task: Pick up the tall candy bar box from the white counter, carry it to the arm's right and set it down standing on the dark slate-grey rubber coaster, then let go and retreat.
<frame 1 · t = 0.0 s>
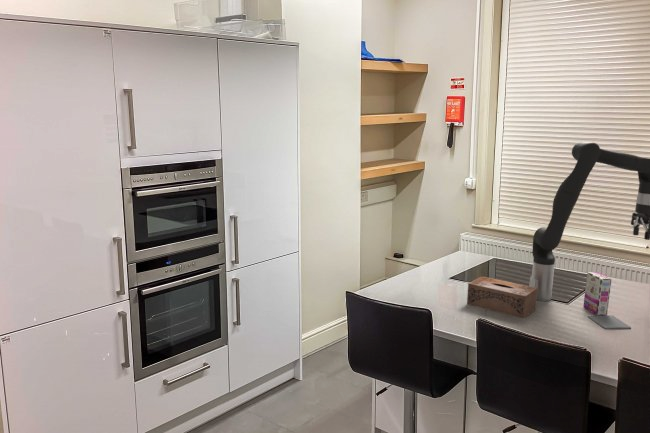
hand: (641, 237, 255), 29 cm above the table, tool pointing down, fingers open, 8 cm apart
coaster: (608, 322, 229), on the table
tissue box cover: (500, 307, 246), on the table
candy bar box: (595, 311, 243), on the table
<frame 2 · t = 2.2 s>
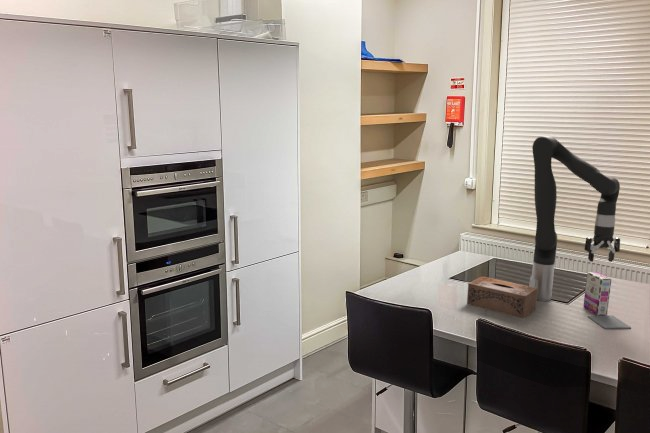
hand: (600, 261, 238), 23 cm above the table, tool pointing down, fingers open, 8 cm apart
nothing on the table moved.
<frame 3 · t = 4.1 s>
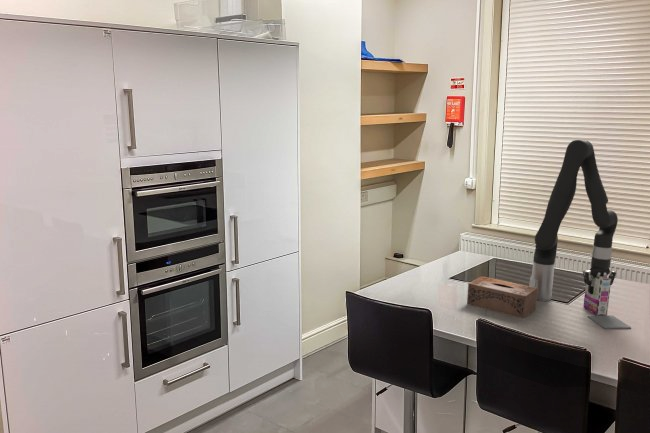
hand: (597, 293, 241), 8 cm above the table, tool pointing down, fingers closed on candy bar box, 5 cm apart
candy bar box: (595, 311, 243), on the table, touching gripper
everything else where it was.
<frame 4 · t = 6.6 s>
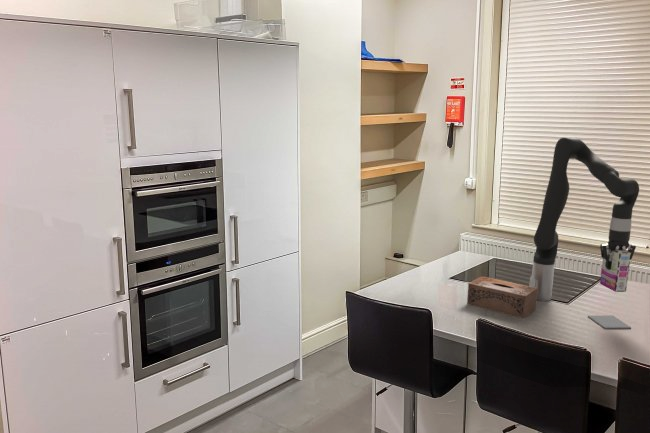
hand: (615, 269, 225), 23 cm above the table, tool pointing down, fingers closed on candy bar box, 5 cm apart
candy bar box: (612, 288, 227), point 15 cm above the table, touching gripper
everything else where it was.
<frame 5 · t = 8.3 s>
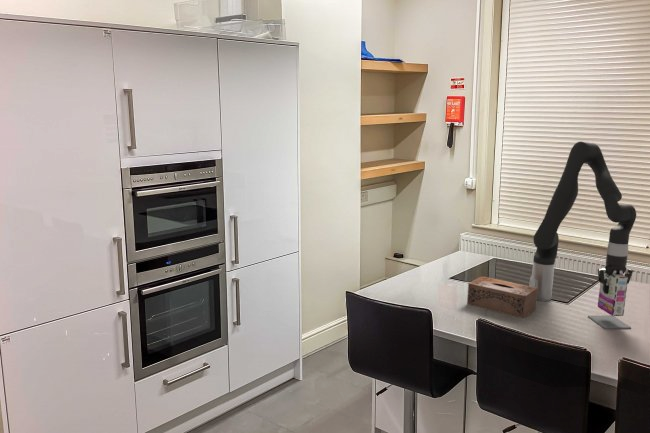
hand: (612, 293, 227), 13 cm above the table, tool pointing down, fingers closed on candy bar box, 5 cm apart
candy bar box: (610, 311, 229), point 5 cm above the table, touching gripper
everything else where it was.
when the fingers open (10 cm above the table, at t = 9.5 s): candy bar box drops 1 cm, resting on coaster.
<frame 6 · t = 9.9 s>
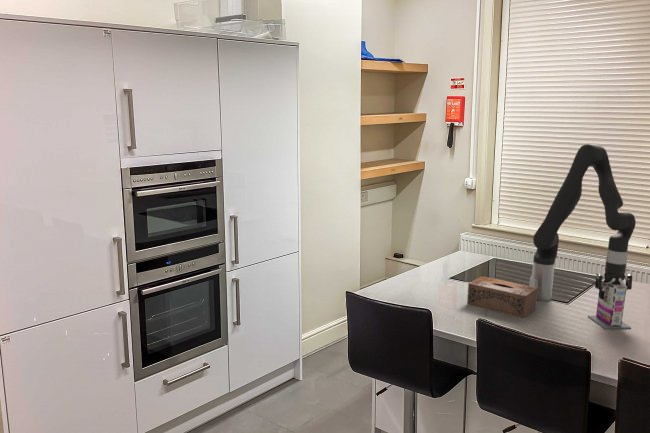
hand: (611, 298, 227), 10 cm above the table, tool pointing down, fingers open, 8 cm apart
candy bar box: (608, 321, 229), resting on coaster
everything else where it was.
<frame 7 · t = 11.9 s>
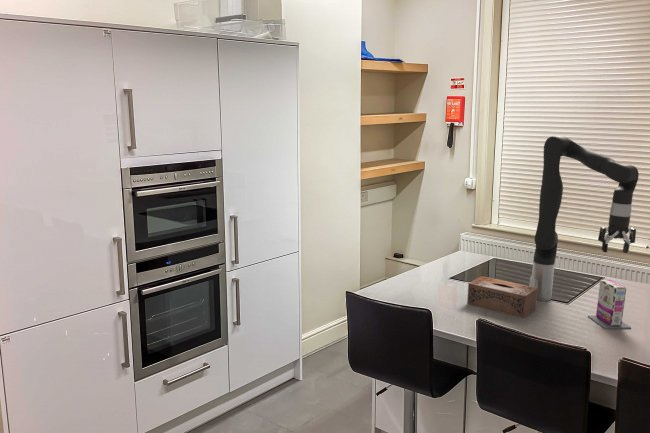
hand: (614, 252, 229), 29 cm above the table, tool pointing down, fingers open, 8 cm apart
nothing on the table moved.
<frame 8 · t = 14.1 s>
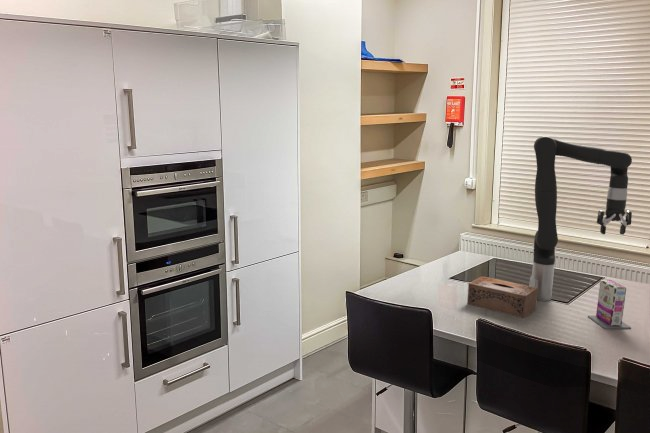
hand: (612, 234, 244), 33 cm above the table, tool pointing down, fingers open, 8 cm apart
nothing on the table moved.
at the end: candy bar box 0.2 cm from the coaster (horizontally); candy bar box tilted 0°; the gripper is holding nothing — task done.
